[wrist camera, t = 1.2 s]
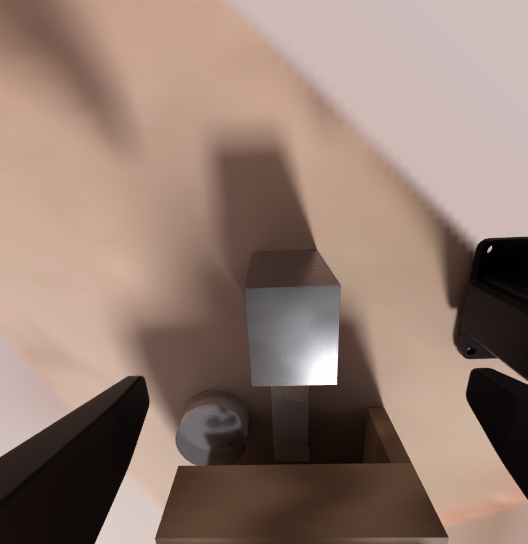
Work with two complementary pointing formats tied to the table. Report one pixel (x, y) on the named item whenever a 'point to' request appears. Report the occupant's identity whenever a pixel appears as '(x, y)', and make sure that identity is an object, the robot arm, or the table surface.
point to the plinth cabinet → (306, 500)
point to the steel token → (213, 429)
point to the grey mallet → (291, 338)
